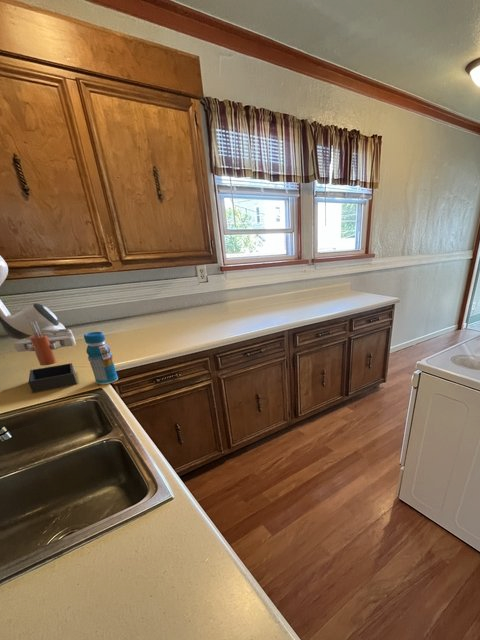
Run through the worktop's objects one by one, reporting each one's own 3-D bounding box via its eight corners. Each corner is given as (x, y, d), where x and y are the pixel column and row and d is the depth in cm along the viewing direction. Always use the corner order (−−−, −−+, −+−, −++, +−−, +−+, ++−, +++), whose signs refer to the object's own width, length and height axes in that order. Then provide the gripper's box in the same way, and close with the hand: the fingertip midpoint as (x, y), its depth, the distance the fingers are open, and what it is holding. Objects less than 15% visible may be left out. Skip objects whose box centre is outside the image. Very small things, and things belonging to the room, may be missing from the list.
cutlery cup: (39, 366, 127) (22, 324, 120) (40, 362, 131) (23, 321, 124) (56, 363, 130) (41, 322, 123) (56, 359, 134) (41, 319, 127)
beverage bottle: (94, 386, 130) (79, 337, 121) (97, 378, 137) (82, 332, 128) (118, 383, 133) (104, 335, 124) (119, 375, 140) (106, 330, 131)
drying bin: (32, 392, 125) (28, 381, 123) (34, 380, 136) (30, 370, 134) (77, 383, 133) (73, 373, 131) (75, 372, 143) (71, 363, 141)
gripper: (16, 334, 133) (5, 343, 122) (74, 328, 141) (69, 337, 129) (22, 349, 136) (12, 359, 125) (79, 343, 143) (74, 352, 132)
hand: (42, 348), depth 127 cm, fingers closed on cutlery cup, 5 cm apart
